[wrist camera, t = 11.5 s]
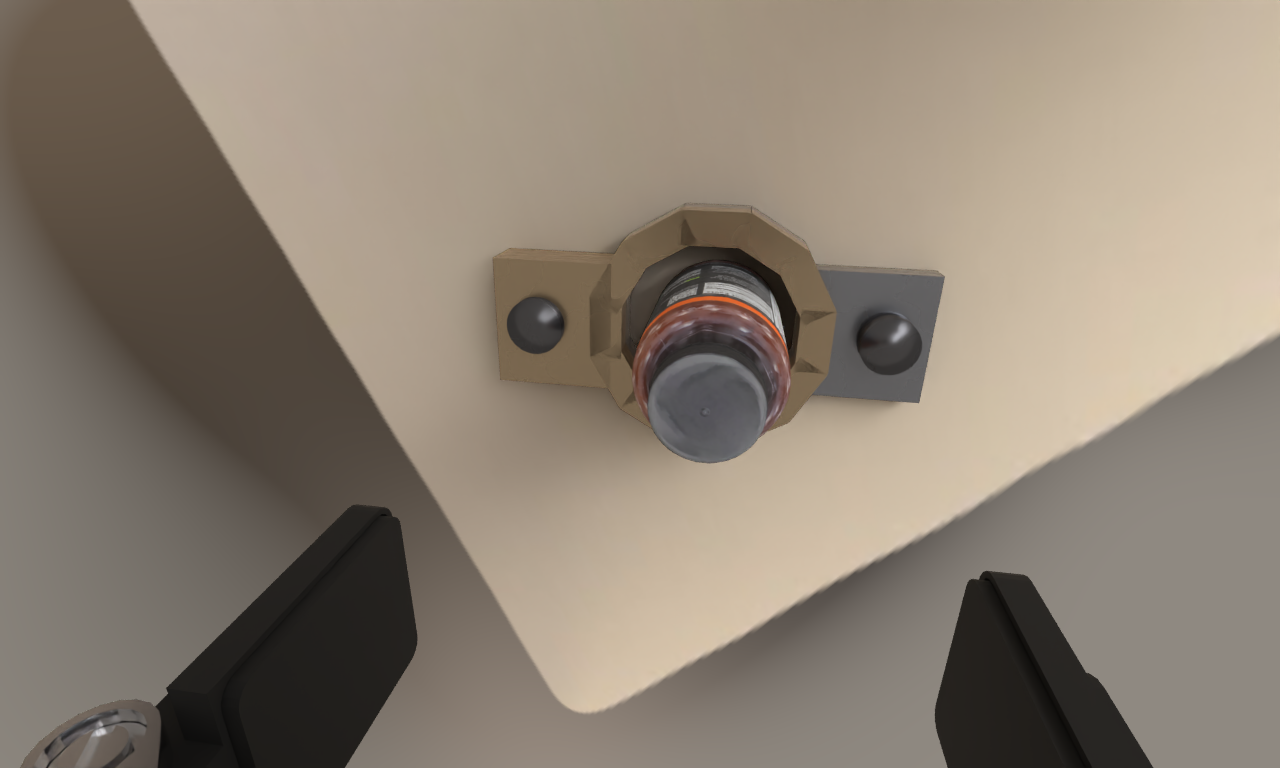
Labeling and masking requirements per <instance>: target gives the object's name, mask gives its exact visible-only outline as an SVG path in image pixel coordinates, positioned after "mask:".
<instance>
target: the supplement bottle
mask: <svg viewBox="0 0 1280 768" xmlns="http://www.w3.org/2000/svg"><path fill="white" fill-rule="evenodd" d="M784 328H785V326H782V322H781V317H780V312H779V308H778V305H777V302H776V299H775V297H774V295H773V293H772V291H771V290H770V288H769V286H768V284H767V283H766V282H765V281H764V280H763V279H762V278H761V277H760V276H759V275H758V274H757V273H755V272H754V271H752V270H751V269H749V268H747V267H745V266H743V265H741V264H738V263H735V262H731V261H725V260H711V261H706V262H701V263H698V264H695V265H693V266H690V267H688V268H686V269H685V270H683V271H682V272H681V273H679V274H678V275H677V276H675V277H674V279H672V280H671V282H670V283H669V284H668V285H667V286H666V288H665V289H664V290H663V292H662V294H661V296H660V298H659V300H658V302H657V304H656V306H655V309H654V311H653V313H652V315H651V317H650V319H649V321H648V324H647V326H646V328H645V331H644V332H643V334H642V337H641V340H640V342H639V344H638V347H637V350H636V354H635V357H634V362H633V369H632V383H633V390H634V394H635V398H636V401H637V403H638V405H639V407H640V409H641V411H642V413H643V415H644V416H645V418H646V419H647V421H648V422H649V423H650V424H651V427H652V429H653V431H654V433H655V434H656V436H657V438H658V439H659V440H660V441H661V442H662V443H663V445H665V446H666V447H667V448H668V449H669V450H671V451H672V452H673V453H675V454H677V455H678V456H681V457H683V458H685V459H688V460H691V461H695V462H702V463H717V462H723V461H727V460H730V459H732V458H735V457H737V456H739V455H741V454H742V453H744V452H745V451H747V450H748V449H749V448H750V447H751V446H752V445H753V444H754V443H755V442H756V441H757V439H758V438H759V437H761V436H762V435H764V434H765V433H766V432H767V431H768V429H770V428H771V427H772V425H773V424H774V423H775V422H776V421H777V419H778V418H779V416H780V415H781V413H782V411H783V410H784V407H785V405H786V403H787V400H788V397H789V393H790V386H791V370H790V362H789V357H788V350H787V344H786V339H785V335H784Z"/></svg>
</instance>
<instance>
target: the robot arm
mask: <svg viewBox="0 0 1280 768" xmlns="http://www.w3.org/2000/svg"><path fill="white" fill-rule="evenodd" d="M416 646H417V630H416V624H415V618H414V611H413V604H412V597H411V591H410V585H409V578H408V571H407V564H406V558H405V552H404V545H403V538H402V532H401V525H400V521H399V520H398V518H396V517H392V514H391V512H390V510H389V509H387V508H384V507H375V506H366V505H353V506H351V507H350V508H348V509H347V510H346V511H345V512H344V513H343V514H342V515H341V516H340V517H339V518H338V519H337V520H336V521H335V522H334V523H333V524H332V525H331V526H330V527H329V528H328V529H327V530H326V531H325V532H324V533H323V534H322V535H321V536H320V537H319V538H318V539H317V540H316V541H315V542H314V543H313V544H312V545H311V546H310V547H309V548H308V549H307V550H306V551H305V552H304V553H303V554H302V555H301V556H300V557H299V558H297V559H296V561H295V562H293V563H292V565H291V566H289V568H287V569H286V570H285V571H284V572H283V573H282V574H281V575H280V576H279V578H277V579H276V580H275V581H274V582H273V583H272V584H271V585H270V586H269V587H268V588H267V589H266V590H265V591H264V592H263V593H262V594H261V595H260V596H259V597H258V598H257V599H256V600H255V601H254V602H253V603H252V604H251V605H250V606H249V607H248V608H247V609H246V610H245V611H244V612H243V613H242V614H241V615H240V616H239V617H238V618H237V619H236V620H235V621H234V622H233V623H232V624H231V625H230V626H229V627H228V628H227V629H226V630H225V631H224V632H223V633H222V634H221V635H219V636H218V637H217V638H216V639H215V641H213V642H212V644H210V645H209V646H208V647H207V648H206V649H205V650H204V651H203V652H202V653H201V654H200V655H199V656H198V657H197V658H196V659H195V660H194V661H193V662H192V663H191V664H190V665H189V666H188V667H187V668H186V669H185V670H184V671H183V672H182V673H181V674H180V675H179V676H178V677H177V678H176V679H175V680H174V681H173V682H172V683H171V684H170V685H169V686H168V687H167V688H166V689H167V692H168V694H167V696H165V697H164V698H163V700H161V701H160V703H158V705H157V706H153V704H152V703H150V702H146V701H142V700H138V699H132V700H118V701H114V702H110V703H107V704H102V705H99V706H97V707H94V708H92V709H90V710H87V711H85V712H82V713H80V714H78V715H76V716H74V717H73V718H71V719H70V720H68V721H66V722H65V723H63V724H61V725H59V726H58V727H56V728H55V729H54V730H53V731H52V732H50V733H49V734H48V735H47V736H45V737H44V738H43V739H42V740H40V741H39V742H38V743H37V745H36V746H35V747H34V748H33V749H32V750H31V751H30V753H29V754H28V755H27V756H26V757H25V759H24V761H23V763H22V765H21V767H20V768H345V766H346V765H347V763H348V762H349V760H350V758H351V757H352V755H353V754H354V752H355V750H356V749H357V747H358V745H359V744H360V742H361V741H362V739H363V737H364V736H365V734H366V733H367V731H368V729H369V728H370V726H371V724H372V723H373V721H374V720H375V718H376V716H377V715H378V713H379V711H380V710H381V708H382V707H383V705H384V704H385V702H386V700H387V699H388V697H389V695H390V694H391V692H392V691H393V689H394V687H395V686H396V684H397V682H398V681H399V679H400V678H401V676H402V674H403V673H404V671H405V669H406V668H407V666H408V664H409V663H410V661H411V660H412V658H413V656H414V653H415V650H416ZM935 723H936V729H937V733H938V737H939V740H940V744H941V747H942V750H943V754H944V756H945V760H946V763H947V767H948V768H1153V767H1152V765H1151V763H1150V762H1149V760H1148V758H1147V757H1146V755H1145V753H1144V752H1143V750H1142V749H1141V747H1140V745H1139V744H1138V742H1137V741H1136V739H1135V737H1134V736H1133V734H1132V732H1131V731H1130V729H1129V727H1128V726H1127V724H1126V723H1125V721H1124V719H1123V718H1122V716H1121V714H1120V713H1119V711H1118V709H1117V708H1116V706H1115V704H1114V703H1113V701H1112V700H1111V698H1110V696H1109V695H1108V693H1107V691H1106V690H1105V688H1104V687H1103V686H1102V684H1101V683H1100V682H1099V681H1098V679H1097V678H1095V677H1094V676H1092V675H1091V674H1089V673H1086V672H1085V670H1084V669H1083V667H1082V665H1081V664H1080V662H1079V660H1078V659H1077V657H1076V655H1075V654H1074V652H1073V650H1072V649H1071V647H1070V645H1069V643H1068V642H1067V640H1066V638H1065V637H1064V635H1063V634H1062V632H1061V630H1060V628H1059V627H1058V625H1057V623H1056V622H1055V620H1054V618H1053V617H1052V615H1051V613H1050V612H1049V610H1048V608H1047V607H1046V605H1045V603H1044V602H1043V600H1042V598H1041V597H1040V595H1039V593H1038V592H1037V590H1036V588H1035V586H1034V585H1033V583H1032V581H1031V580H1030V579H1029V578H1028V577H1027V576H1025V575H1021V574H1011V573H1002V572H992V571H985V572H983V573H982V574H981V576H980V579H979V580H976V579H971V580H969V582H968V584H967V586H966V590H965V594H964V597H963V601H962V605H961V609H960V613H959V617H958V621H957V625H956V628H955V633H954V636H953V640H952V644H951V648H950V652H949V656H948V660H947V663H946V667H945V671H944V675H943V679H942V683H941V687H940V690H939V694H938V698H937V702H936V708H935Z"/></svg>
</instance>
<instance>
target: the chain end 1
mask: <svg viewBox="0 0 1280 768" xmlns="http://www.w3.org/2000/svg"><path fill="white" fill-rule="evenodd" d="M688 246H706V247H726V248H740V249H741V250H743V251H744V252H746V253H747V254H749V255H750V256H752V257H753V258H755V259H756V260H758V261H759V262H761V263H762V264H764V265H765V266H767V267H769V268H770V269H772V270H773V271H775V272H776V273H778V274H779V275H780V276H781V278H782V280H783V282H784V284H785V286H786V288H787V290H788V292H789V295H790V297H791V299H792V301H793V303H794V305H795V307H796V309H797V312H798V321H797V329H796V338H795V346H794V354H793V356H792V358H791V359H790V360H789V362H790V370H791V386H790V393H789V397H788V400H787V403H786V405H785V407H784V410H783V411H782V413H781V415H780V416H779V418H778V419H777V421H776V422H775V423H774V424H773V425H772V427H771V428H770V429H768V431H770V430H772V429H775V428H777V427H779V426H782V425H784V424H787V423H788V422H790V421H791V419H792V418H793V417H794V416H795V414H796V413H797V412H798V411H799V409H800V408H801V407H802V406H803V405H804V403H805V402H806V401H807V400H808V398H809V397H810V396H811V395H812V394H813V392H814V391H815V390H816V389H817V387H818V386H819V385H820V384H821V383H822V381H823V380H824V379H825V378H826V376H827V374H828V371H829V364H830V357H831V350H832V343H833V336H834V329H835V322H836V315H837V311H836V308H835V306H834V304H833V302H832V300H831V297H830V295H829V293H828V291H827V289H826V286H825V284H824V282H823V280H822V278H821V275H820V273H819V271H818V269H817V267H816V264H815V262H814V260H813V258H812V256H811V253H810V251H809V249H808V247H807V246H806V245H805V244H803V243H802V242H800V241H799V240H797V239H796V238H794V237H793V236H791V235H790V234H788V233H787V232H785V231H784V230H782V229H781V228H779V227H778V226H776V225H775V224H773V223H772V222H770V221H769V220H767V219H765V218H764V217H762V216H761V215H759V214H758V213H756V212H755V211H753V210H751V209H736V208H713V207H690V206H684V207H682V208H680V209H678V210H676V211H674V212H672V213H670V214H669V215H667V216H665V217H663V218H661V219H659V220H657V221H656V222H654V223H652V224H650V225H648V226H646V227H644V228H643V229H641V230H639V231H637V232H635V233H633V234H631V235H629V236H628V237H626V238H625V239H624V240H623V241H622V243H621V244H620V246H619V248H618V249H617V251H616V253H615V254H611V253H592V252H573V251H554V250H536V249H517V248H510V249H508V250H506V251H504V252H502V253H500V254H499V255H497V256H495V257H493V268H494V285H495V301H496V317H497V333H498V349H499V365H500V380H512V381H524V382H537V383H549V384H562V385H574V386H587V387H599V388H608V389H609V391H610V393H611V394H612V396H613V398H614V399H615V401H616V403H617V405H618V406H619V408H620V409H621V410H623V411H624V412H626V413H628V414H629V415H631V416H632V417H634V418H636V419H637V420H639V421H640V422H642V423H644V424H645V425H647V426H649V427H650V428H652V427H651V424H650V423H649V422H648V421H647V419H646V418H645V416H644V415H643V413H642V411H641V409H640V407H639V405H638V403H637V401H636V398H635V394H634V390H633V383H632V369H633V362H634V358H633V356H632V354H631V352H630V350H629V349H628V347H627V345H626V343H625V341H626V300H627V298H628V296H629V295H630V293H631V292H632V290H633V288H634V287H635V285H636V284H637V282H638V280H639V279H640V277H641V276H642V274H643V272H644V271H645V269H646V268H647V267H649V266H651V265H653V264H654V263H656V262H658V261H660V260H662V259H664V258H666V257H668V256H670V255H672V254H674V253H676V252H678V251H680V250H682V249H684V248H686V247H688Z"/></svg>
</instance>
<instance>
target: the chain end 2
mask: <svg viewBox="0 0 1280 768" xmlns="http://www.w3.org/2000/svg"><path fill="white" fill-rule="evenodd" d="M684 206H690V207H713V208H736V209H751V210H753V211H755V212H756V213H758V214H759V215H761V216H762V217H764V218H765V219H767V220H769V221H770V222H772V223H773V224H775V225H776V226H778V227H779V228H781V229H782V230H784V231H785V232H787V233H788V234H790V235H791V236H793V237H794V238H796V239H797V240H799V241H800V242H802V243H803V244H805V245H806V243H805V241H804V240H802V239H801V238H799V237H798V236H796V235H794V234H793V233H791V232H790V231H788V230H787V229H785V228H784V227H782V226H781V225H779V224H778V223H776V222H775V221H773V220H772V219H770V218H769V217H767V216H766V215H764V214H763V213H761V212H760V211H758V210H757V209H755V208H754V207H752V206H745V205H721V204H698V203H685V204H684V205H682V206H680V207H678V208H676V209H674V210H672V211H670V212H669V213H667V214H665V215H663V216H661V217H659V218H657V219H656V220H654V221H652V222H650V223H648V224H646V225H644V226H643V227H641V228H639V229H637V230H635V231H633V232H631V233H630V234H629V235H631V234H633V233H635V232H637V231H639V230H641V229H643V228H644V227H646V226H648V225H650V224H652V223H654V222H656V221H657V220H659V219H661V218H663V217H665V216H667V215H669V214H670V213H672V212H674V211H676V210H678V209H680V208H682V207H684ZM629 235H628V236H629ZM628 236H627V237H628ZM806 246H807V245H806ZM816 267H817V269H818V271H819V273H820V275H821V278H822V280H823V282H824V284H825V286H826V289H827V291H828V293H829V295H830V297H831V300H832V302H833V304H834V306H835V308H836V311H837V315H836V322H835V329H834V336H833V343H832V350H831V357H830V364H829V371H828V374H827V376H826V378H825V379H824V380H823V381H822V383H821V384H820V385H819V386H818V387H817V389H816V390H815V391H814V392H813V394H812V395H823V396H835V397H848V398H861V399H874V400H886V401H899V402H912V403H919V401H920V396H921V391H922V386H923V381H924V376H925V371H926V366H927V362H928V357H929V352H930V347H931V342H932V337H933V332H934V327H935V322H936V317H937V312H938V307H939V302H940V297H941V293H942V288H943V283H944V278H945V277H944V276H943V275H942V274H941V273H939V272H938V271H930V270H911V269H893V268H874V267H855V266H836V265H817V264H816ZM643 273H644V272H643ZM640 278H641V277H640ZM638 281H639V280H638ZM635 286H636V285H635ZM633 289H634V288H633ZM630 294H631V293H630ZM797 321H798V312H797V309H796V315H795V324H794V332H793V341H792V347H791V349H790V350H789V351H788V357H789V360H790V359H791V358H792V356H793V354H794V346H795V338H796V329H797ZM629 335H630V295H629V296H628V298H627V300H626V341H625V343H626V345H627V347H628V349H629V350H630V352H631V354H632V356H633V358H634V357H635V354H636V350H637V348H636V347H635V345H634V343H633V341H632V339H631V338H630V336H629Z"/></svg>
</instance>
